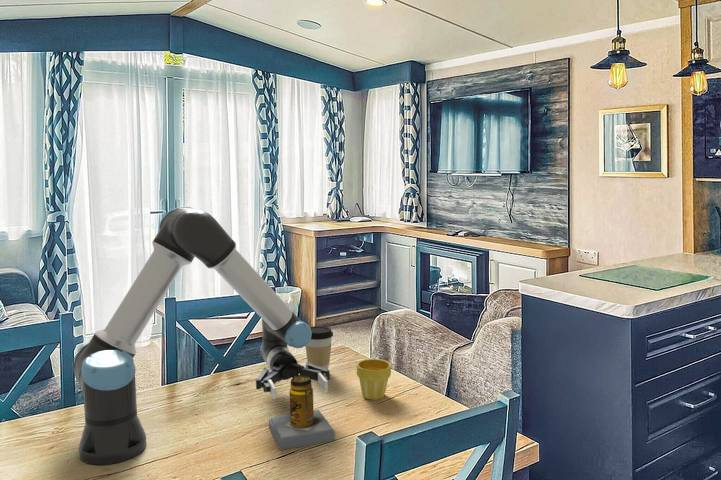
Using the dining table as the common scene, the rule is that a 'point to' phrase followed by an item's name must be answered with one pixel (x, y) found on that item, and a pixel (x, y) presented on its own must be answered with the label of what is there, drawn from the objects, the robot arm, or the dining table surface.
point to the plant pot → (373, 377)
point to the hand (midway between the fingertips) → (301, 389)
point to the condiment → (302, 404)
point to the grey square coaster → (300, 432)
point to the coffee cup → (319, 346)
